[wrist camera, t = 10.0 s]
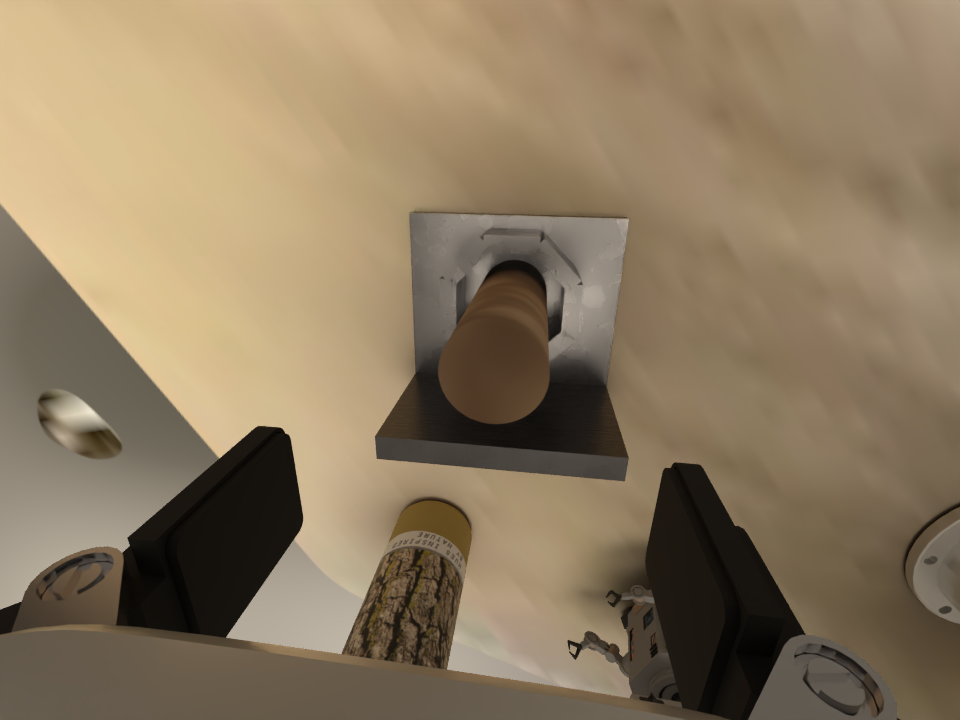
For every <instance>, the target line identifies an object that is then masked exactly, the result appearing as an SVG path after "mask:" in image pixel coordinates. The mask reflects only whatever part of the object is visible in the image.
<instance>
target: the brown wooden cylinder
mask: <svg viewBox="0 0 960 720" xmlns="http://www.w3.org/2000/svg"><path fill="white" fill-rule="evenodd" d="M438 375H439V381H440V385H441V388H442V390H443V392H444V394H445V396H446V398H447V399H448V400H449V402H450V403H451V404H452V405H453V406H454V407H455V408H456V409H457V410H458V411H459V412H461V413H462V414H464V415H465V416H467V417H469V418H471V419H473V420H476V421H479V422H483V423H488V424H505V423H510V422H514V421H517V420H519V419H521V418H523V417H525V416H527V415H528V414H530V413H531V412H532V411H533V410H535V409H536V408H537V406H538V405H539V404H540V403H541V401H542V400H543V398H544V396H545V394H546V392H547V389H548V386H549V379H550V369H549V343H548V316H547V290H546V284H545V281H544V278H543V276H542V275H541V273H540V272H539V271H538V270H537V269H536V268H535V267H534V266H533V265H531V264H529V263H527V262H525V261H521V260H507V261H504V262H501V263H499V264H497V265H496V266H494V267H493V268H492V269H491V270H490V271H489V272H488V274H487V275H486V277H485V278H484V280H483V282H482V284H481V285H480V287H479V289H478V290H477V292H476V294H475V296H474V297H473V299H472V301H471V302H470V304H469V306H468V308H467V309H466V311H465V313H464V314H463V316H462V318H461V320H460V321H459V323H458V325H457V326H456V328H455V330H454V332H453V333H452V335H451V337H450V338H449V340H448V342H447V344H446V345H445V347H444V349H443V351H442V353H441V356H440V360H439V365H438Z"/></svg>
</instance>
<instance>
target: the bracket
mask: <svg viewBox="0 0 960 720" xmlns="http://www.w3.org/2000/svg"><path fill="white" fill-rule="evenodd" d="M628 223H629V219H628V218H619V217H584V216H548V215H513V214H477V213H442V212H410V238H411V263H412V289H413V314H414V340H415V365H416V374H415V375H414V377H413V378H412V380H411V381H410V383H409V385H408V386H407V388H406V389H405V391H404V392H403V394H402V395H401V397H400V399H399V400H398V402H397V403H396V405H395V406H394V408H393V409H392V411H391V413H390V414H389V416H388V417H387V419H386V420H385V422H384V423H383V425H382V426H381V428H380V430H379V431H378V433H377V434H376V436H375V441H376V454H377V459H386V460H397V461H408V462H419V463H430V464H441V465H452V466H463V467H474V468H485V469H496V470H507V471H518V472H529V473H540V474H551V475H562V476H573V477H584V478H595V479H606V480H617V481H625V476H626V471H627V465H628V459H629V458H628V454H627V451H626V448H625V445H624V442H623V438H622V435H621V432H620V429H619V426H618V422H617V419H616V416H615V413H614V410H613V407H612V403H611V400H610V397H609V394H608V391H607V387H606V384H607V377H608V369H609V362H610V355H611V347H612V340H613V333H614V325H615V318H616V311H617V303H618V296H619V289H620V282H621V274H622V267H623V260H624V252H625V245H626V238H627V230H628ZM507 260H521V261H525V262H527V263H529V264H531V265H533V266H534V267H535V268H536V269H537V270H538V271H539V272H540V273H541V275H542V276H543V278H544V281H545V284H546V290H547V316H548V343H549V369H550V379H549V386H548V389H547V392H546V394H545V396H544V398H543V400H542V401H541V403H540V404H539V405H538V406H537V408H536V409H535V410H533V411H532V412H531V413H530V414H528V415H527V416H525V417H523V418H521V419H519V420H517V421H514V422H510V423H505V424H488V423H483V422H479V421H476V420H473V419H471V418H469V417H467V416H465V415H464V414H462V413H461V412H459V411H458V410H457V409H456V408H455V407H454V406H453V405H452V404H451V403H450V402H449V400H448V399H447V398H446V396H445V394H444V392H443V390H442V388H441V385H440V381H439V375H438V365H439V360H440V356H441V353H442V351H443V349H444V347H445V345H446V344H447V342H448V340H449V338H450V337H451V335H452V333H453V332H454V330H455V328H456V326H457V325H458V323H459V321H460V320H461V318H462V316H463V314H464V313H465V311H466V309H467V308H468V306H469V304H470V302H471V301H472V299H473V297H474V296H475V294H476V292H477V290H478V289H479V287H480V285H481V284H482V282H483V280H484V278H485V277H486V275H487V274H488V272H489V271H490V270H491V269H492V268H493V267H494V266H496V265H497V264H499V263H501V262H504V261H507Z"/></svg>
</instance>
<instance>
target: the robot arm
mask: <svg viewBox="0 0 960 720" xmlns="http://www.w3.org/2000/svg"><path fill="white" fill-rule="evenodd" d="M302 523H303V512H302V506H301V500H300V494H299V488H298V482H297V475H296V469H295V463H294V457H293V451H292V445H291V439H290V436H289V435H288V434H285V432H284V430H283V429H282V428H278V427H266V426H258V427H256V428H255V429H253V430H252V431H251V432H250V433H249V434H248V435H246V436H245V437H244V438H243V439H242V440H241V441H239V442H238V443H237V444H236V445H235V446H234V447H232V448H231V449H230V450H229V451H228V452H227V453H226V454H224V455H223V456H222V457H221V458H220V459H219V460H217V461H216V462H215V463H214V464H213V465H212V466H210V467H209V468H208V469H207V470H206V471H205V472H203V473H202V474H201V475H200V476H199V477H198V478H197V479H195V480H194V481H193V482H192V483H191V484H190V485H188V486H187V487H186V488H185V489H184V490H183V491H181V492H180V493H179V494H178V495H177V496H176V497H174V498H173V499H172V500H171V501H170V502H169V503H167V504H166V505H165V506H164V507H163V508H162V509H160V510H159V511H158V512H157V513H156V514H155V515H154V516H152V517H151V518H150V519H149V520H148V521H146V522H145V523H144V524H143V525H142V526H141V527H140V528H139V529H137V530H136V531H135V532H134V533H133V534H131V535H130V536H129V537H128V541H129V544H130V546H129V547H128V548H127V549H126V550H125V551H124V552H123V553H121V551H119V550H118V549H117V548H112V547H95V548H91V549H87V550H82V551H80V552H77V553H74V554H72V555H69V556H67V557H65V558H63V559H61V560H59V561H58V562H56V563H54V564H52V565H51V566H49V567H48V568H47V569H45V570H44V571H42V572H41V573H40V574H39V575H38V576H37V577H36V578H35V579H34V580H33V581H32V582H31V583H30V585H29V586H28V588H27V590H26V591H25V594H24V597H23V600H22V602H19V603H17V604H14V605H11V606H9V607H6V608H3V609H1V610H0V720H900V719H898V718H897V703H896V701H895V699H894V696H893V694H892V692H891V690H890V688H889V687H888V685H887V684H886V683H885V681H884V680H883V679H882V677H881V676H880V675H879V674H878V673H877V672H876V671H875V670H874V669H873V668H872V667H871V666H870V665H869V664H868V663H867V662H866V661H865V660H863V659H862V658H860V657H859V656H858V655H856V654H855V653H853V652H852V651H850V650H849V649H847V648H845V647H843V646H841V645H839V644H837V643H835V642H833V641H831V640H828V639H825V638H821V637H818V636H813V635H805V633H804V631H803V629H802V628H801V626H800V624H799V622H798V621H797V619H796V617H795V615H794V614H793V612H792V610H791V609H790V607H789V605H788V603H787V602H786V600H785V598H784V596H783V595H782V593H781V591H780V589H779V588H778V586H777V584H776V582H775V581H774V579H773V577H772V576H771V574H770V572H769V570H768V569H767V567H766V565H765V563H764V562H763V560H762V558H761V556H760V555H759V553H758V551H757V550H756V548H755V546H754V544H753V543H752V541H751V539H750V537H749V536H748V534H747V533H746V531H745V530H744V529H743V528H741V527H739V526H735V525H734V523H733V522H732V520H731V518H730V516H729V514H728V513H727V511H726V509H725V507H724V505H723V504H722V502H721V500H720V498H719V496H718V495H717V493H716V491H715V489H714V487H713V485H712V484H711V482H710V480H709V478H708V476H707V475H706V473H705V471H704V469H703V468H702V466H701V465H698V464H687V463H676V462H675V463H673V465H672V467H671V468H665V469H664V470H663V473H662V478H661V483H660V488H659V493H658V498H657V503H656V508H655V512H654V517H653V522H652V527H651V532H650V537H649V542H648V547H647V551H646V560H645V561H646V571H647V575H648V579H649V583H650V587H651V590H652V594H653V598H654V602H655V605H656V609H657V613H658V617H659V621H660V624H661V628H662V632H663V636H664V640H665V643H666V647H667V651H668V655H669V659H670V662H671V666H672V670H673V674H674V678H675V681H676V685H677V689H678V693H679V697H680V700H681V704H682V708H680V707H675V706H671V705H665V704H659V703H653V702H647V701H642V700H636V699H630V698H624V697H618V696H612V695H607V694H601V693H595V692H589V691H583V690H576V689H570V688H563V687H557V686H550V685H544V684H537V683H530V682H524V681H518V680H511V679H504V678H498V677H491V676H485V675H478V674H472V673H465V672H459V671H452V670H445V669H438V668H432V667H425V666H418V665H411V664H405V663H398V662H391V661H384V660H377V659H370V658H364V657H357V656H350V655H343V654H336V653H329V652H322V651H315V650H308V649H301V648H294V647H286V646H280V645H273V644H265V643H258V642H251V641H243V640H237V639H230V638H226V636H227V635H228V633H229V632H230V630H231V629H232V628H233V626H234V625H235V623H236V622H237V620H238V619H239V618H240V616H241V615H242V613H243V612H244V610H245V609H246V608H247V606H248V605H249V603H250V602H251V600H252V599H253V597H254V596H255V595H256V593H257V592H258V590H259V589H260V587H261V586H262V584H263V583H264V581H265V580H266V579H267V577H268V576H269V574H270V573H271V572H272V570H273V569H274V567H275V566H276V564H277V563H278V561H279V560H280V559H281V557H282V556H283V554H284V553H285V551H286V550H287V548H288V547H289V546H290V544H291V542H292V541H293V540H294V538H295V537H296V536H297V534H298V533H299V531H300V529H301V527H302ZM905 568H906V579H907V582H908V585H909V587H910V589H911V590H912V592H913V593H914V595H915V596H916V597H917V598H918V599H919V600H920V601H921V603H922V604H923V605H924V606H925V607H926V608H927V609H928V610H930V611H931V612H932V613H934V614H935V615H937V616H939V617H941V618H943V619H946V620H948V621H950V622H954V623H957V624H960V507H958V508H956V509H954V510H952V511H951V512H949V513H947V514H946V515H944V516H942V517H941V518H939V519H938V520H936V521H935V522H934V523H933V524H932V525H930V526H929V527H928V528H927V529H925V531H924V532H923V533H922V534H921V535H920V536H919V538H918V539H917V540H916V541H915V543H914V545H913V546H912V548H911V550H910V552H909V554H908V558H907V561H906V565H905Z"/></svg>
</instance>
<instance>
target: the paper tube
mask: <svg viewBox="0 0 960 720" xmlns="http://www.w3.org/2000/svg"><path fill="white" fill-rule="evenodd" d="M470 545H471V529H470V526H469V524H468V522H467V520H466V519H465V517H464V516H463V515H462V514H461V513H460V512H459V511H458V510H457V509H455V508H454V507H452V506H451V505H448V504H446V503H443V502H439V501H421V502H418V503H415V504H413V505H411V506H409V507H408V508H406V509H405V510H404V511H403V512H402V514H401V515H400V517H399V519H398V521H397V524H396V526H395V528H394V531H393V533H392V536H391V538H390V540H389V543H388V545H387V547H386V549H385V551H384V554H383V556H382V559H381V561H380V563H379V566H378V568H377V570H376V573H375V575H374V578H373V580H372V582H371V585H370V587H369V590H368V592H367V594H366V597H365V599H364V601H363V604H362V606H361V609H360V611H359V613H358V616H357V618H356V620H355V623H354V625H353V628H352V630H351V632H350V635H349V637H348V640H347V642H346V644H345V647H344V649H343V652H342V654H343V655H350V656H357V657H364V658H370V659H377V660H384V661H391V662H398V663H405V664H411V665H418V666H425V667H432V668H438V669H445V670H447V666H448V660H449V656H450V650H451V645H452V640H453V635H454V630H455V624H456V619H457V614H458V609H459V604H460V598H461V593H462V588H463V583H464V578H465V572H466V566H467V560H468V555H469V550H470Z"/></svg>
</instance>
